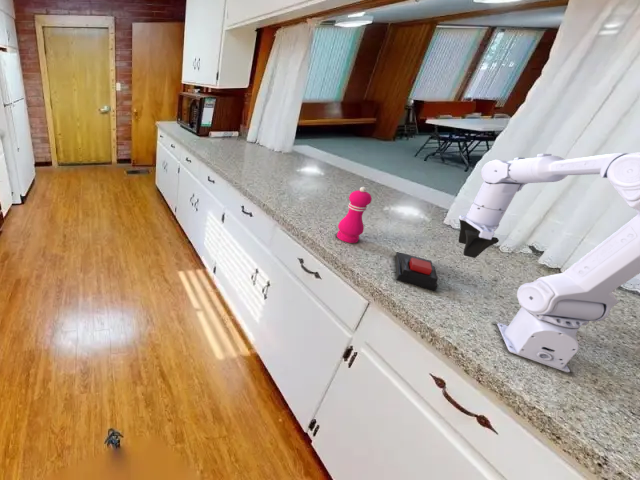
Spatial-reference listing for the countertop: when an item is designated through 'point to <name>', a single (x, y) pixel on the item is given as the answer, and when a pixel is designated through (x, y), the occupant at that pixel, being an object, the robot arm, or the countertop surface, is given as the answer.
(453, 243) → the countertop surface
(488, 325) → the countertop surface
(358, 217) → the pepper mill
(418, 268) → the block
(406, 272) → the press
